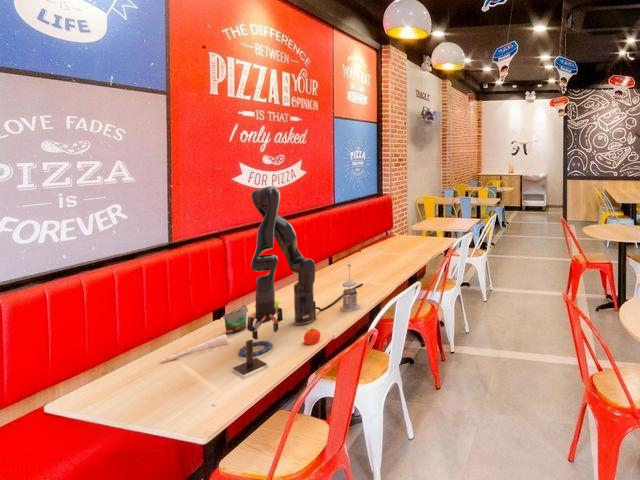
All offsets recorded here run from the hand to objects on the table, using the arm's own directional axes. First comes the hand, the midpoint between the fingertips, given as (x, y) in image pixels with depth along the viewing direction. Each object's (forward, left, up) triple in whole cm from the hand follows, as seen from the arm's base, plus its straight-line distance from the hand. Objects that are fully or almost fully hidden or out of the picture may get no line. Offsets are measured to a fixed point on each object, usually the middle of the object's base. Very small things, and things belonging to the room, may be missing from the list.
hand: (265, 335), depth 172 cm
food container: (-2, -30, -6) cm, 31 cm away
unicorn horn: (+19, -21, -6) cm, 29 cm away
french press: (-49, -5, -6) cm, 50 cm away
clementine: (-13, +15, -6) cm, 21 cm away
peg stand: (+13, +13, -6) cm, 19 cm away
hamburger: (-21, -40, -6) cm, 46 cm away
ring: (+5, +1, -4) cm, 6 cm away
